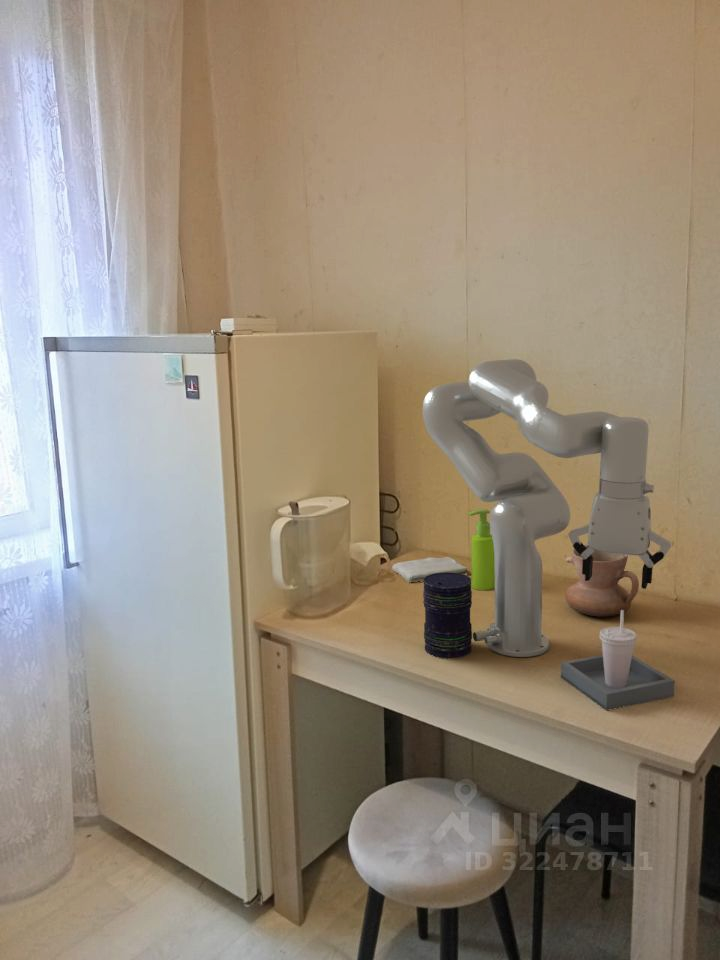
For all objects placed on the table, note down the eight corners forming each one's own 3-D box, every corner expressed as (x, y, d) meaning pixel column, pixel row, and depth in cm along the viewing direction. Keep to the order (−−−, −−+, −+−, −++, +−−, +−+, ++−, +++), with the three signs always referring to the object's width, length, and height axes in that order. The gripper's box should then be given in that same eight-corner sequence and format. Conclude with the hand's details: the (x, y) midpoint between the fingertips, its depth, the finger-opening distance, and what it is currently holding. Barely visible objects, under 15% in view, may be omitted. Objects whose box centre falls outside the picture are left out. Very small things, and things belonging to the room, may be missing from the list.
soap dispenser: (464, 585, 199) (463, 509, 196) (488, 581, 201) (488, 506, 198) (474, 592, 194) (473, 514, 190) (499, 588, 196) (499, 511, 192)
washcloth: (470, 576, 208) (470, 565, 207) (408, 585, 202) (408, 574, 201) (450, 564, 219) (450, 553, 218) (391, 572, 213) (391, 562, 212)
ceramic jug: (547, 609, 181) (549, 550, 178) (583, 593, 190) (585, 537, 187) (617, 631, 168) (620, 569, 164) (652, 613, 177) (655, 553, 174)
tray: (606, 710, 133) (606, 694, 133) (560, 677, 146) (561, 662, 146) (673, 696, 137) (674, 680, 137) (623, 664, 150) (624, 650, 150)
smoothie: (639, 691, 138) (643, 617, 136) (603, 691, 139) (606, 617, 136) (628, 675, 145) (631, 603, 142) (593, 675, 145) (596, 604, 142)
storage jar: (441, 635, 167) (440, 569, 165) (481, 646, 161) (481, 577, 158) (414, 651, 160) (413, 582, 157) (455, 663, 154) (454, 591, 151)
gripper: (677, 488, 134) (670, 582, 138) (575, 480, 142) (571, 569, 146) (672, 498, 128) (665, 596, 131) (566, 489, 135) (562, 582, 139)
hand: (616, 582), depth 138 cm, fingers open, 9 cm apart
